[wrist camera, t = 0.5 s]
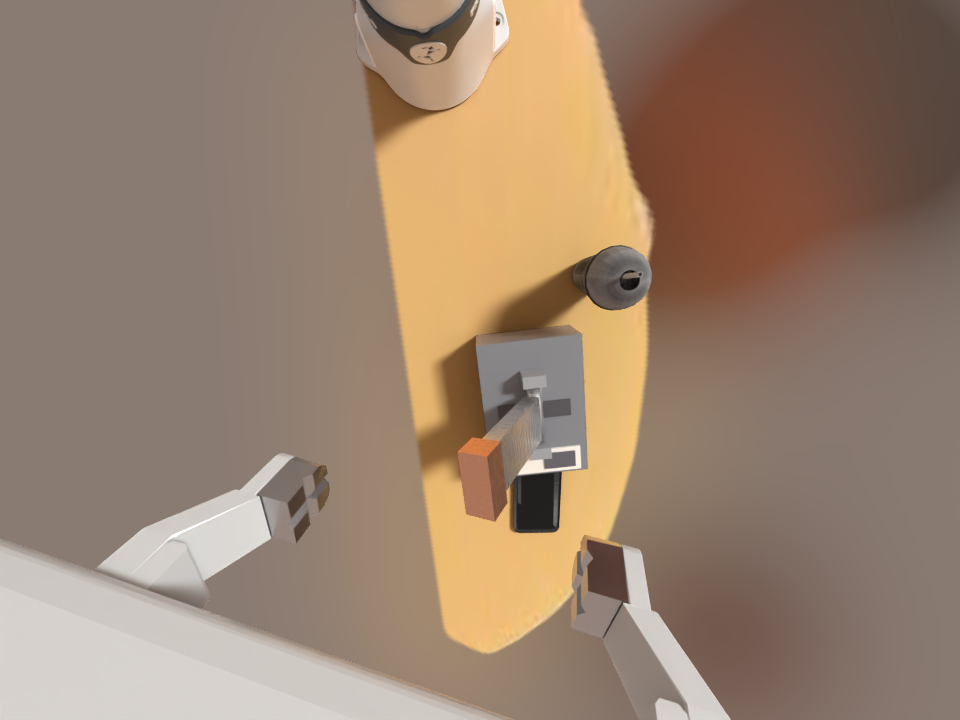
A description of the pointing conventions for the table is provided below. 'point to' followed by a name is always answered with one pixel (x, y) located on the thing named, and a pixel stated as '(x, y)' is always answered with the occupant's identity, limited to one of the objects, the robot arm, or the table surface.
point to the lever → (500, 456)
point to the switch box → (538, 364)
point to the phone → (537, 503)
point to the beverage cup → (614, 277)
